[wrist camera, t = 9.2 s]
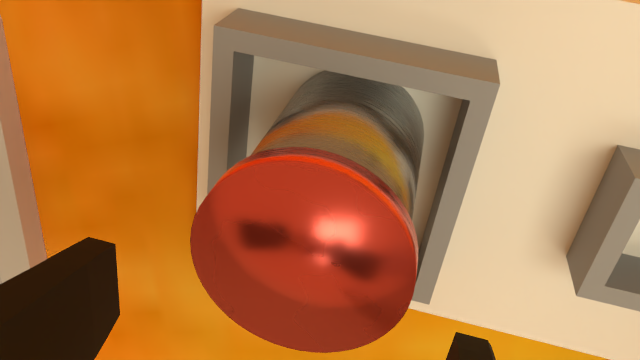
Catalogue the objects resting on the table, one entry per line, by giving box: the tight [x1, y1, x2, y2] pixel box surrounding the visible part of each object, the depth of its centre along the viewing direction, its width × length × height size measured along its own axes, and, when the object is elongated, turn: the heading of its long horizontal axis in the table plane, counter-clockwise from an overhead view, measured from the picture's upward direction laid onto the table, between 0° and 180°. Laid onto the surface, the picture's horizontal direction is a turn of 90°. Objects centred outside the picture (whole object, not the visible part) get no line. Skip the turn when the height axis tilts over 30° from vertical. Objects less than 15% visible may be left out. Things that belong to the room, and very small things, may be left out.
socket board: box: [196, 0, 640, 360], centre depth 18 cm, size 20×12×3 cm, turn 82°
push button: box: [190, 70, 424, 353], centre depth 15 cm, size 5×5×7 cm
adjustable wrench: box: [0, 16, 47, 284], centre depth 26 cm, size 25×6×2 cm, turn 171°
